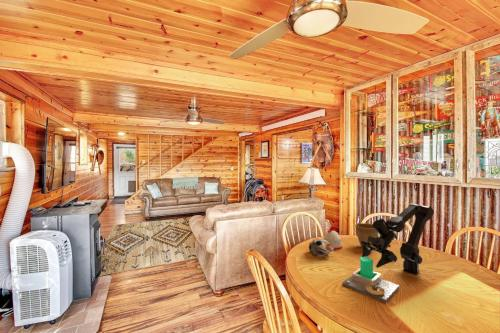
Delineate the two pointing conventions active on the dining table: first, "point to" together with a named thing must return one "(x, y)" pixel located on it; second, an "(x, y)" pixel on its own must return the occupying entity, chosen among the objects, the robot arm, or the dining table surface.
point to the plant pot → (365, 231)
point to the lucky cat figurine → (320, 247)
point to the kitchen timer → (333, 238)
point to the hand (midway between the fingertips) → (369, 263)
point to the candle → (366, 267)
